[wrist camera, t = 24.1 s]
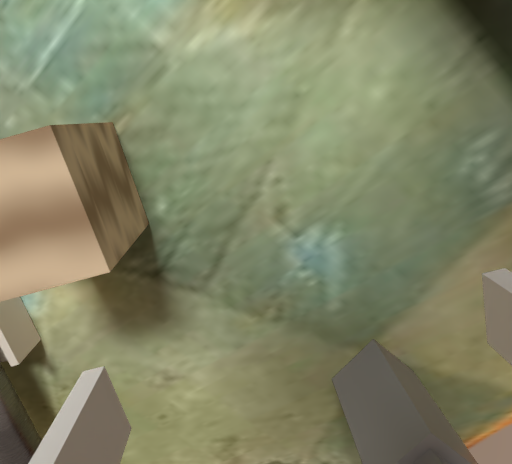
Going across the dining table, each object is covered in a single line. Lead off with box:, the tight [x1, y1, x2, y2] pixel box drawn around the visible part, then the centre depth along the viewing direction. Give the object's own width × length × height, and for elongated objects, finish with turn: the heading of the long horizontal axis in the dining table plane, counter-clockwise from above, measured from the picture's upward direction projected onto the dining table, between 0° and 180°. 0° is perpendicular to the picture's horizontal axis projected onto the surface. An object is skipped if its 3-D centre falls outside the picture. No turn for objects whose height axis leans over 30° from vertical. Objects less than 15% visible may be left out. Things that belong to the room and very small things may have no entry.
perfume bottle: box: [332, 339, 478, 464], centre depth 36 cm, size 7×7×18 cm
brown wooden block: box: [0, 122, 149, 302], centre depth 31 cm, size 10×8×12 cm
